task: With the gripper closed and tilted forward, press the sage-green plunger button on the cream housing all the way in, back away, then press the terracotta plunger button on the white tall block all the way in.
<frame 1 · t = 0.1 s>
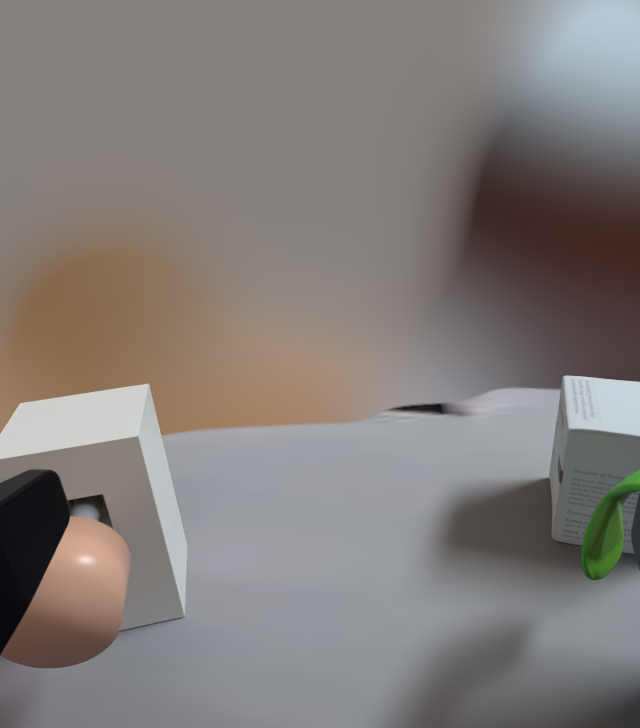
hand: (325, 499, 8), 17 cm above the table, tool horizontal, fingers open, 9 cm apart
white tall block: (128, 590, 28), on the table
skincare box: (606, 518, 31), on the table
terracotta button: (73, 554, 21), point 7 cm above the table, slide at 0.0 cm
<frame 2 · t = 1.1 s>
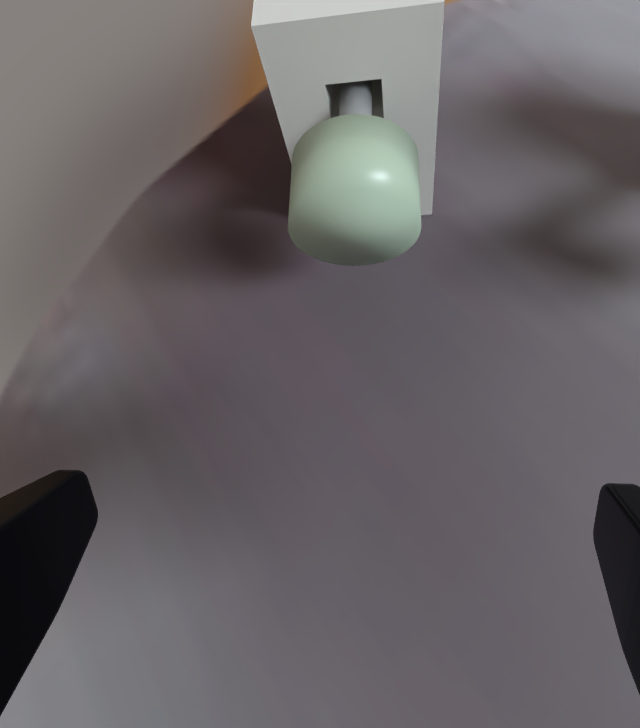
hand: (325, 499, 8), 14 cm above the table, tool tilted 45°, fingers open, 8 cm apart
sage button housing: (369, 177, 27), on the table
sage button: (355, 153, 19), point 7 cm above the table, slide at 0.0 cm
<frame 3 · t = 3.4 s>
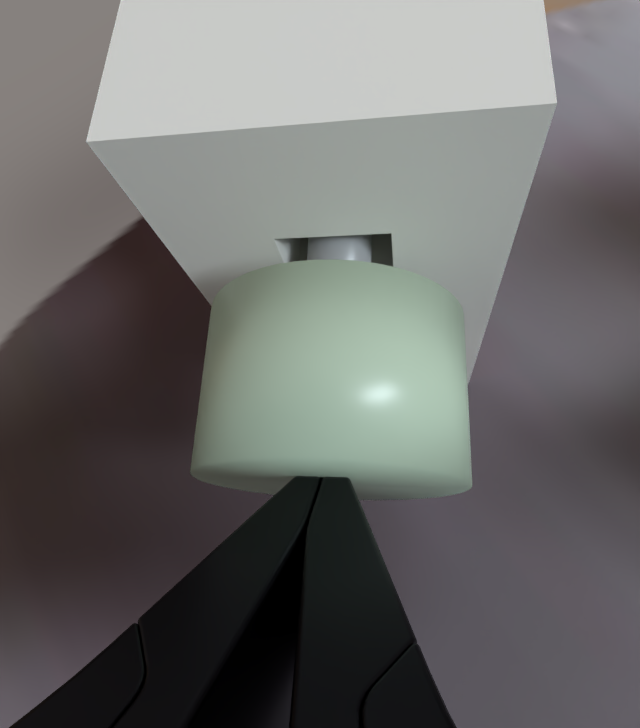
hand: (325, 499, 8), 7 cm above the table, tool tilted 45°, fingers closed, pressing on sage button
sage button housing: (368, 310, 17), on the table
sage button: (337, 301, 10), point 7 cm above the table, slide at 1.5 cm, touching gripper
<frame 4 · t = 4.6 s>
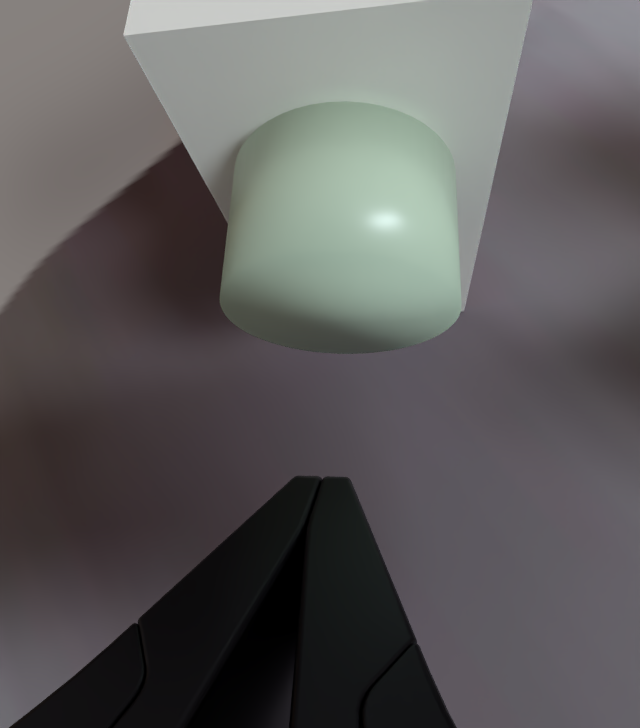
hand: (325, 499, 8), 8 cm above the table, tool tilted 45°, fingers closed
sage button housing: (370, 246, 18), on the table
sage button: (344, 168, 11), point 7 cm above the table, slide at 2.4 cm
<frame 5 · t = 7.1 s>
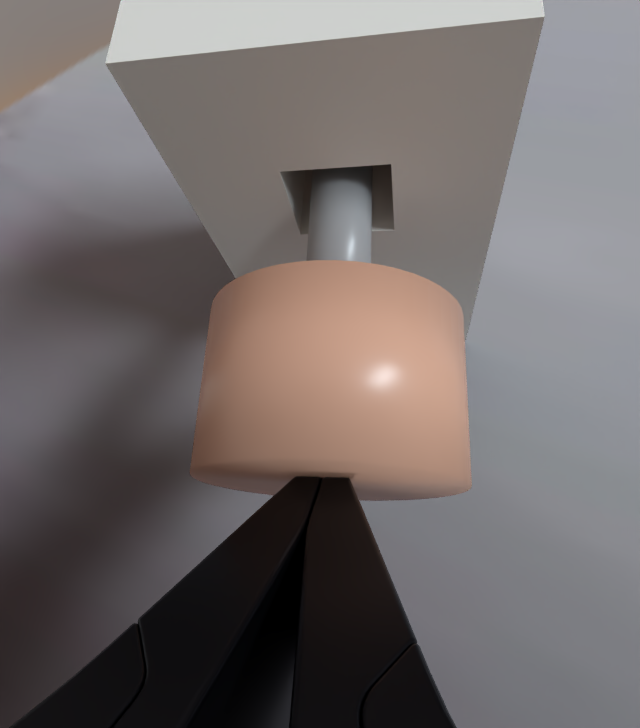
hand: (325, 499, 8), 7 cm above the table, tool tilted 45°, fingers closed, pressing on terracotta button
white tall block: (368, 271, 18), on the table
terracotta button: (337, 302, 10), point 7 cm above the table, slide at 0.1 cm, touching gripper
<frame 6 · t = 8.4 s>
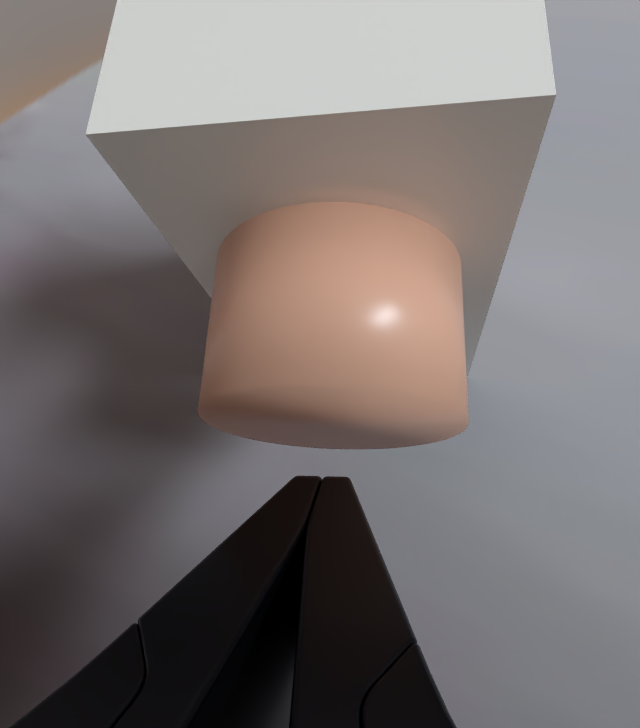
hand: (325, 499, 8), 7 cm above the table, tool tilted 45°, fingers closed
white tall block: (368, 302, 17), on the table
terracotta button: (338, 253, 10), point 7 cm above the table, slide at 2.4 cm
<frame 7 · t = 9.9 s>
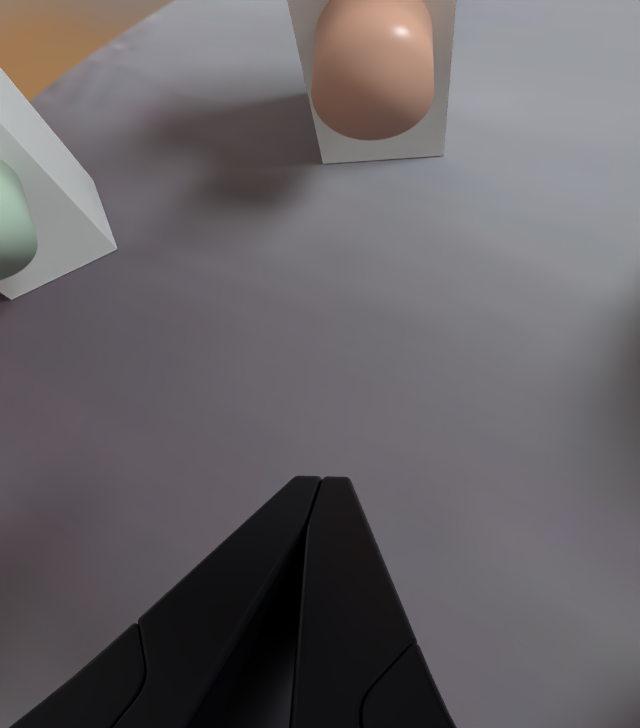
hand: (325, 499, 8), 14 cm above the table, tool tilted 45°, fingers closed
white tall block: (382, 120, 28), on the table
sage button housing: (53, 238, 29), on the table
terracotta button: (373, 30, 21), point 7 cm above the table, slide at 2.4 cm
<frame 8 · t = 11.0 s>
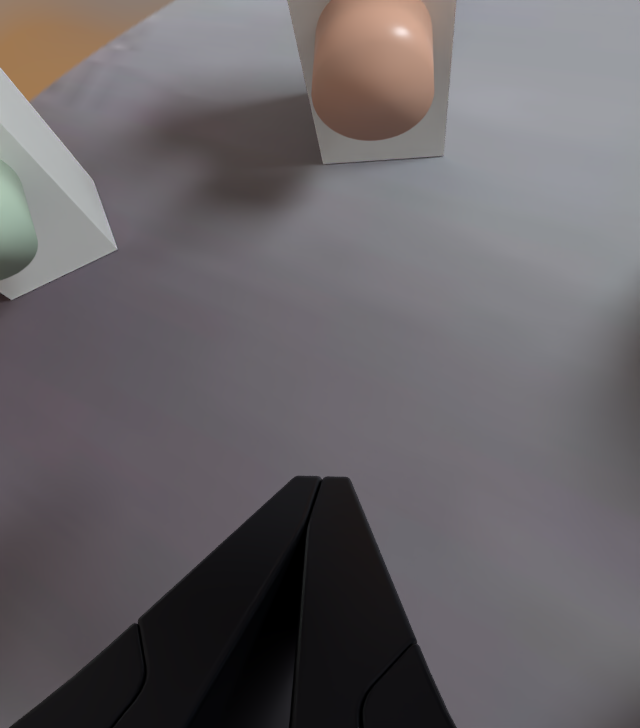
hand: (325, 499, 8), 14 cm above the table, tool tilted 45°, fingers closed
white tall block: (382, 120, 28), on the table
sage button housing: (53, 238, 29), on the table
terracotta button: (373, 30, 21), point 7 cm above the table, slide at 2.4 cm
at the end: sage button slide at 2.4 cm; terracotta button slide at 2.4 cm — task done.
